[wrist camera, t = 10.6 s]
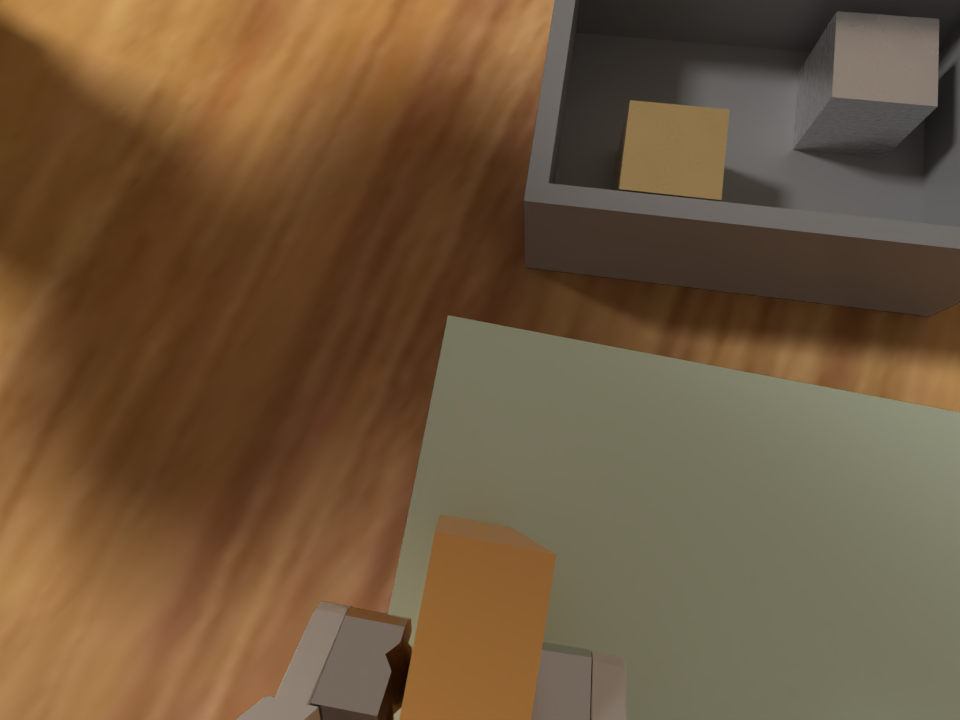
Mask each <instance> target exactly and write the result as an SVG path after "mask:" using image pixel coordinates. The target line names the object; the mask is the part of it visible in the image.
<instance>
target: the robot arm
mask: <svg viewBox="0 0 960 720" xmlns="http://www.w3.org/2000/svg"><path fill="white" fill-rule="evenodd" d="M411 632H412V624H411V618H407V617H402V616H396V615H391V614H386V613H381V612H375V611H370V610H365V609H360V608H354V607H352V606H347V605H341V604H335V603H330V602H324V601H321V602H320V603H319V605H318V606H317V607H316V609H315V610H314V611H313V614H312V616H311V618H310V620H309V622H308V625H307V627H306V629H305V631H304V633H303V636H302V638H301V640H300V642H299V644H298V647H297V649H296V651H295V653H294V655H293V658H292V660H291V662H290V664H289V666H288V669H287V671H286V673H285V675H284V677H283V680H282V682H281V684H280V686H279V688H278V691H277V693H276V695H275V697H271V696H265V697H263V698H262V699H261V700H260V701H258V702H257V703H256V704H255V705H253V706H252V707H251V708H250V709H248V710H247V711H246V712H245V713H243V714H242V715H241V716H240V717H238V718H237V719H236V720H394V714H395V713H396V712H397V711H398V710H399V709H400V708H401V707H402V702H403V697H404V692H405V687H406V681H407V676H408V671H409V666H410V660H411V655H412V647H411V646H410V645H409V639H410V636H411ZM531 720H627V678H626V663H625V661H624V658H623V656H618V655H613V654H607V653H601V652H595V651H590V650H589V649H583V648H577V647H571V646H565V645H559V644H553V643H547V642H543V645H542V652H541V658H540V665H539V671H538V678H537V684H536V691H535V698H534V704H533V711H532V717H531Z"/></svg>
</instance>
